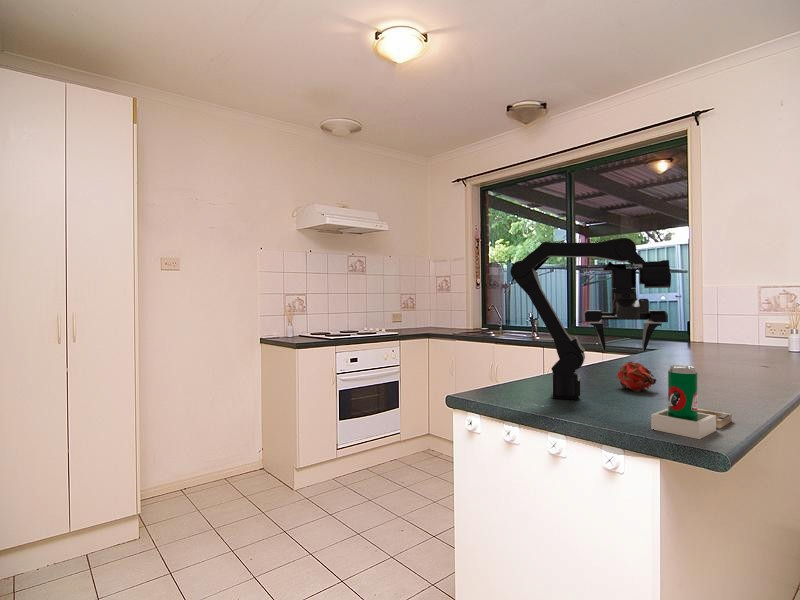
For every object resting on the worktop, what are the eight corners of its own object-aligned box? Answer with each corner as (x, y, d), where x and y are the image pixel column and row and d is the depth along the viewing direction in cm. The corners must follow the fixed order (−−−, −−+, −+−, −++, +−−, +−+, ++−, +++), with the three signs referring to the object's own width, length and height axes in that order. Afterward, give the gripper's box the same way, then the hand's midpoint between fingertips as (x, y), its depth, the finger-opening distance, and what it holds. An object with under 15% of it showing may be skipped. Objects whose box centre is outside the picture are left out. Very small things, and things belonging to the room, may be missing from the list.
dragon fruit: (624, 390, 138) (649, 405, 126) (603, 374, 137) (628, 388, 125) (641, 367, 138) (669, 380, 126) (621, 352, 136) (647, 363, 124)
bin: (651, 429, 93) (651, 414, 93) (669, 421, 98) (669, 407, 98) (699, 439, 86) (699, 423, 86) (716, 430, 92) (716, 415, 92)
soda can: (699, 431, 89) (699, 369, 89) (668, 428, 91) (668, 367, 91) (696, 425, 93) (695, 365, 93) (667, 422, 96) (667, 364, 96)
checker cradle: (675, 420, 99) (675, 412, 99) (688, 413, 104) (688, 405, 104) (720, 428, 93) (720, 419, 93) (731, 421, 98) (731, 412, 98)
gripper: (587, 288, 111) (587, 353, 112) (674, 287, 106) (674, 355, 106) (582, 289, 122) (583, 348, 122) (661, 288, 117) (662, 349, 117)
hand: (623, 350), depth 117 cm, fingers open, 9 cm apart
